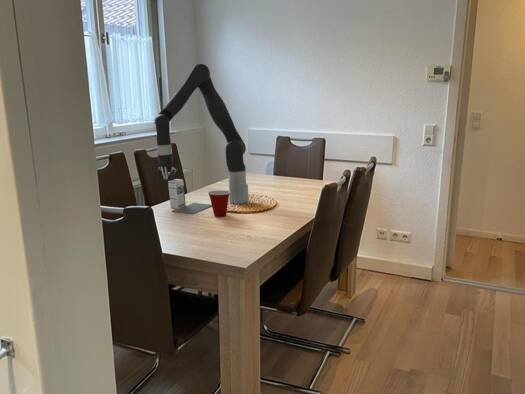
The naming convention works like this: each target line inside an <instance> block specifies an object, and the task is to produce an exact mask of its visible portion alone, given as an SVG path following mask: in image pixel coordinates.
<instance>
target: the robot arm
mask: <svg viewBox="0 0 525 394" xmlns="http://www.w3.org/2000/svg"><path fill="white" fill-rule="evenodd" d="M210 71H211V70H210V68H209V66H207V65H206V64H203V63H198V64H196V65H194V66H193V68H192V69H191V71H190V73H189V75H188V77H187V79H186V80H185V81H184V83H183V84H182V85H181V87H180V88H179V89H178V90H177V91H176V93H174V94H173V96H172V97H171V98H170V99H169V100H168V102H167V103H166V105H165V107H164V108H162V110H161V111H160V112H159V113H158V114H157V115H156V116H155V118H154V124H155V129H156V130H155V131H156V145H157V146H156V152H157V162H158V167H157V168H155V170H156V171H155V172H157V174H158V176H160V178H161V179H163V180H164V186H165V187H169V185H168V181H171V180H172V179H173V178H174V177H175V175H176V173H177V171H178V169H177V168H175V167H174V164H173V162H174V156H173V148H172V144H171V143H172V142H171V141H172V140H171V129H170V128H171V126H170V122H171V120H173V118H174V117H175V116H177V115H178V114H179V112H180V111H181V110H182V109H183V107H184V106H185V105H186V103H187V102H188V101H189V99H190V98H191V96H192V94H193V93H194V92H195V91H196V89H197V88H198V89H199V91H200V92H201V95H202V97H203V99H204V104H205V105H206V106H205V107H206V108H207V110H208V113H209V115H210V118H211V119H212V121H213V123H214V124H215V125H216V127H217V128H218V129H219V130H220V131H221V133H222V134H223V136H224V138H225V140H226V142H227V144H226V146H225V161H226V162H225V163H226V167H227V175H228V177H227V178H228V191H229V192H231V193H230V195H229V203H230V204H232V203H234V205H241V204H242V205H243V203H244V204H245V203H248V202H249V184H248V183H247V174H246V164H245V162H244V154H245V152H246V150H247V149H246V148H247V147H246V144H245V142H244V140H243V139H242V137H241V135H240V134H239V132H238V131H237V128H236V127H235V124H234V122H233V119H232V117H231V115H230V113H229V110H228V108H227V106H226V104H225V102H224V100H223V98H222V97H221V95H220V94H219V93H218V91H217V90H216V88H215V86H214V84H213V81H212V77H211V74H210V73H211V72H210ZM240 203H241V204H240Z"/></svg>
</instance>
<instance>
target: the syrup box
mask: <svg viewBox="0 0 525 394" xmlns="http://www.w3.org/2000/svg"><path fill="white" fill-rule="evenodd" d="M184 183H185V182H184V179H182V178H175V179H170V181H168V185H169V186H168V193H169V194H168V195H169V203H170V205H169V206H170V208H172V209H179V208H182V207H184V206H187V204H186V194H185V184H184Z"/></svg>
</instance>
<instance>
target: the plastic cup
mask: <svg viewBox="0 0 525 394" xmlns="http://www.w3.org/2000/svg"><path fill="white" fill-rule="evenodd" d="M230 193H231V192H229V190H209V191H207V194H208V195H209V199H210V203H211V204H210V205H212V207H211V209H212V211H213V215H214V217H215V218H223V217H226V216H227V214H228V213H227V212H228V205H229V204H228V203H229V199H230Z"/></svg>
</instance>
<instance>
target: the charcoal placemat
mask: <svg viewBox="0 0 525 394" xmlns="http://www.w3.org/2000/svg"><path fill="white" fill-rule="evenodd" d="M209 208H212V204H210V203H209V204H208V203H201V202H200V203H198V202H193V203H189V204H186V206H184V207H181V208H179V209H177V208H175V209H173V210H172V213H179V214H180V213H181V214H188V215H194V214H197V213H199V212H202V211H204V210H207V209H209Z"/></svg>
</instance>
